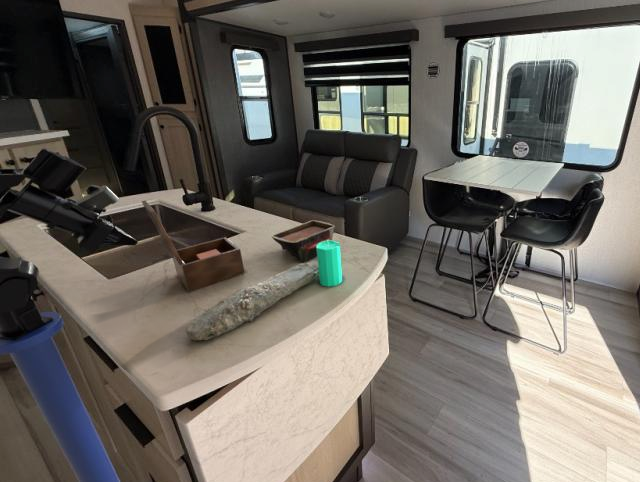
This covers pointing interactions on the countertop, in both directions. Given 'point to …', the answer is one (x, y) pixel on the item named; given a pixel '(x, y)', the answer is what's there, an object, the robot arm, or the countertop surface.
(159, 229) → the chest lid
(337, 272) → the candle
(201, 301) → the countertop surface
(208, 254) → the block
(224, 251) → the chest
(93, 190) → the robot arm
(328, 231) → the baking dish
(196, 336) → the elongated rock
